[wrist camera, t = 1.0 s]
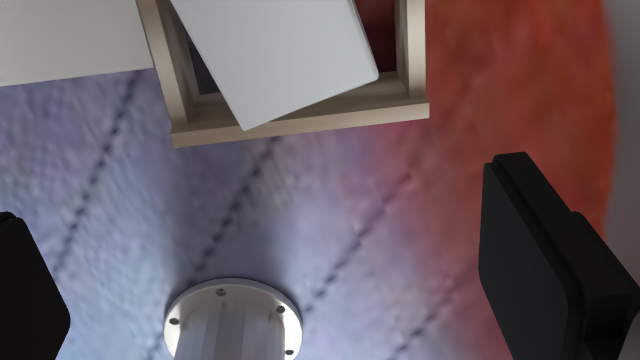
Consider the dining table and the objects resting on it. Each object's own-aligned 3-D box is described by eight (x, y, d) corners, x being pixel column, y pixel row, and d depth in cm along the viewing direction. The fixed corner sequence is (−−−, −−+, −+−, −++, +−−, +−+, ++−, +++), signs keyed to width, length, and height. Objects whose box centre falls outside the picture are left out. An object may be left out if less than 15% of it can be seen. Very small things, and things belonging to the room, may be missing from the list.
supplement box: (204, -55, 34) (161, -10, 23) (314, -106, 32) (325, -84, 22) (255, 53, 37) (240, 136, 26) (357, 11, 36) (384, 79, 25)
